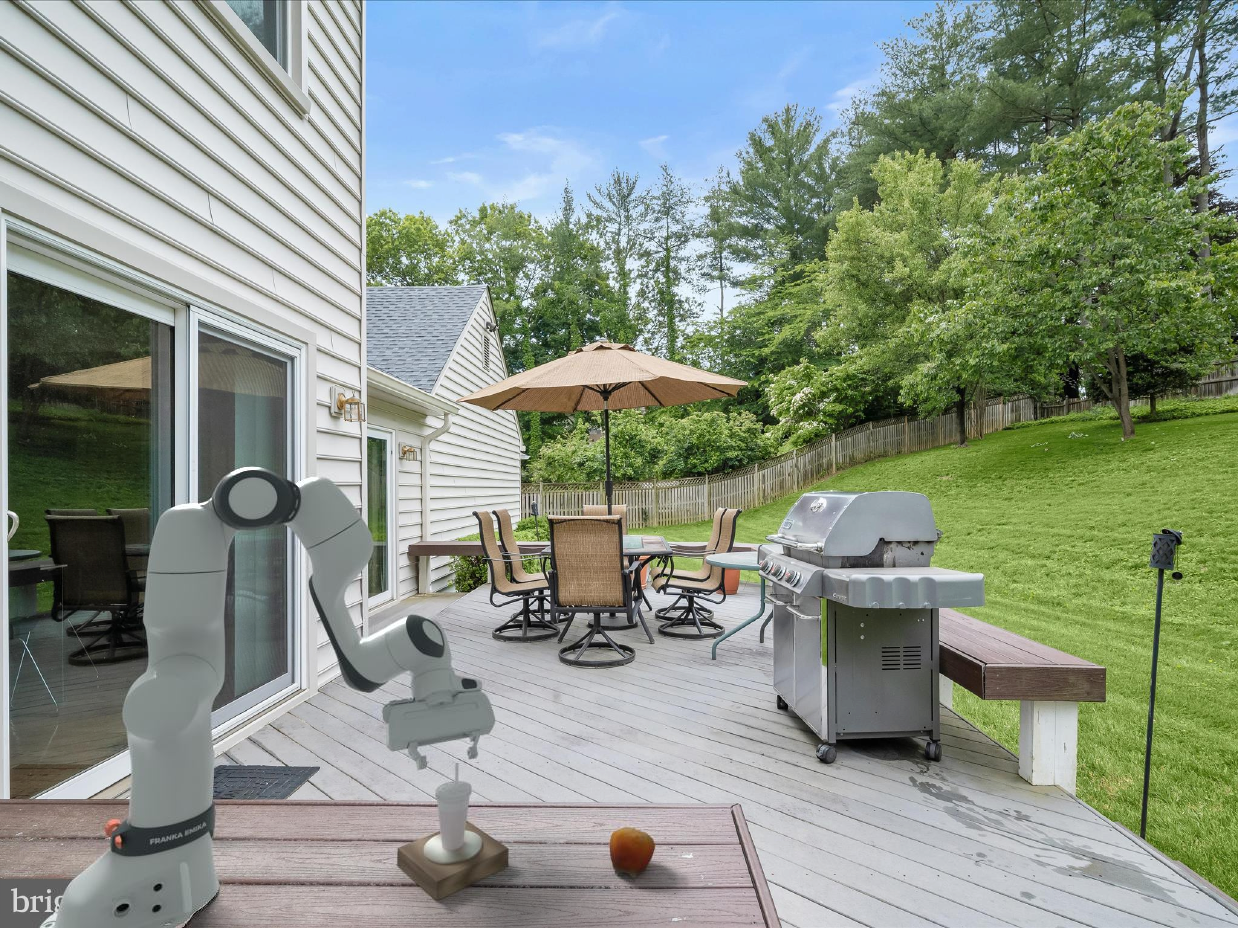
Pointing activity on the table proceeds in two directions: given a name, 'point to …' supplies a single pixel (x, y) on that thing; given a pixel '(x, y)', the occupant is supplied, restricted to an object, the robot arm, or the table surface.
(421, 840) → the stand
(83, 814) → the table surface
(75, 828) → the table surface
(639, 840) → the fruit
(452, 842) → the smoothie
